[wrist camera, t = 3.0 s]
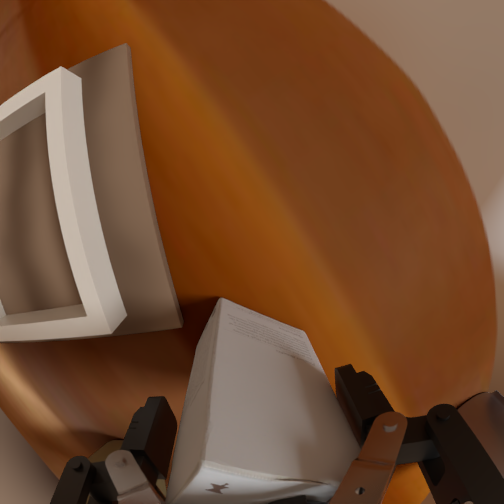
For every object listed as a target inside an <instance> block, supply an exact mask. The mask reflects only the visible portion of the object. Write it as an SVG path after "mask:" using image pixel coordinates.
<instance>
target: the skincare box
mask: <svg viewBox="0 0 504 504" xmlns="http://www.w3.org/2000/svg"><path fill="white" fill-rule="evenodd" d="M360 452H361V448H360V446H359V444H358V442H357V440H356V438H355V436H354V434H353V432H352V429H351V427H350V425H349V423H348V421H347V419H346V417H345V415H344V412H343V410H342V408H341V406H340V404H339V402H338V400H337V398H336V396H335V394H334V392H333V389H332V387H331V385H330V383H329V381H328V379H327V377H326V375H325V373H324V371H323V368H322V366H321V364H320V362H319V360H318V358H317V356H316V354H315V352H314V350H313V348H312V346H311V344H310V342H309V339H308V337H307V335H306V333H305V332H304V331H302V330H299V329H297V328H294V327H292V326H289V325H286V324H284V323H281V322H279V321H277V320H274V319H272V318H269V317H267V316H264V315H262V314H260V313H257V312H255V311H252V310H250V309H248V308H245V307H243V306H240V305H238V304H236V303H233V302H231V301H229V300H227V299H224V298H219V300H218V302H217V304H216V306H215V308H214V310H213V312H212V314H211V316H210V318H209V320H208V323H207V325H206V327H205V329H204V331H203V333H202V336H201V338H200V340H199V342H198V345H197V347H196V352H195V357H194V362H193V366H192V371H191V375H190V379H189V384H188V388H187V393H186V397H185V402H184V407H183V412H182V417H181V421H180V426H179V431H178V436H177V441H176V446H175V451H174V456H173V462H172V470H171V475H170V479H169V483H168V488H167V494H166V500H165V502H166V504H268V503H271V502H274V501H276V500H280V499H286V498H292V497H297V496H302V495H306V500H307V501H321V502H326V503H329V502H330V501H331V499H332V497H333V496H334V494H335V492H336V491H337V489H338V487H339V485H340V484H341V482H342V480H343V478H344V476H345V474H346V473H347V471H348V469H349V467H350V465H351V463H352V461H353V460H354V459H357V457H358V456H359V454H360Z"/></svg>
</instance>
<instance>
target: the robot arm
mask: <svg viewBox="0 0 504 504" xmlns="http://www.w3.org/2000/svg"><path fill="white" fill-rule="evenodd" d="M335 384H336V396H337V400H338V402H339V404H340V406H341V408H342V410H343V412H344V415H345V417H346V419H347V421H348V423H349V425H350V427H351V429H352V432H353V434H354V436H355V438H356V440H357V442H358V444H359V446H360V448H361V452H360V454H359V456H358V457H357V459H354V460H353V461H352V463H351V465H350V467H349V469H348V471H347V473H346V474H345V476H344V478H343V480H342V482H341V484H340V485H339V487H338V489H337V491H336V492H335V494H334V496H333V497H332V499H331V501H330V502H329V503H326V502H321V501H307V500H306V495H302V496H297V497H292V498H286V499H280V500H276V501H274V502H271V503H268V504H381V502H382V500H383V497H384V495H385V493H386V490H387V488H388V486H389V483H390V481H391V478H392V476H393V473H394V470H395V468H396V465H398V464H405V463H412V462H417V463H418V465H419V467H420V469H421V471H422V473H423V475H424V478H425V480H426V482H427V484H428V486H429V489H430V491H431V493H432V495H433V498H434V500H435V502H436V504H504V397H503V396H502V395H501V394H500V393H499V392H498V391H497V390H496V391H495V392H493V393H488V392H485V393H481V394H479V395H477V396H475V397H473V398H472V399H470V400H469V401H467V402H466V403H465V404H463V405H462V406H461V407H460V408H459V409H458V410H457V409H456V408H455V407H454V406H452V405H449V404H439V405H436V406H434V407H432V408H431V409H430V410H429V412H428V414H427V415H426V416H420V417H412V418H408V417H405V416H404V415H403V414H401V413H398V412H395V411H394V410H393V408H392V407H391V405H390V403H389V402H388V400H387V399H386V397H385V396H384V394H383V392H382V391H381V390H380V388H379V386H378V385H377V383H376V381H375V380H374V378H373V377H372V376H371V375H370V374H368V373H366V372H365V371H362V372H359V373H356V371H355V370H354V368H353V366H352V365H351V364H348V365H345V366H341V367H338V368H335ZM176 431H177V421H176V418H175V416H174V414H173V412H172V410H171V408H170V406H169V404H168V402H167V400H166V398H165V397H164V396H157V397H148V399H147V401H146V404H145V406H144V407H140V408H139V409H138V410H137V412H136V413H135V414H134V416H133V418H132V421H131V423H130V425H129V429H128V430H127V433H126V435H125V438H124V440H123V443H122V446H121V448H120V450H117V451H114V452H112V453H111V454H110V455H109V456H108V457H107V458H106V461H101V462H94V463H91V462H90V461H89V460H88V459H87V458H86V457H84V456H76V457H73V458H72V459H70V460H69V461H68V462H67V464H66V466H65V468H64V471H63V473H62V475H61V478H60V480H59V483H58V485H57V488H56V490H55V493H54V495H53V497H52V500H51V502H50V504H86V502H87V499H88V495H90V497H89V500H88V503H87V504H118V503H119V504H166V502H165V500H166V497H165V496H164V495H163V493H162V492H161V490H160V489H159V487H158V486H157V485H156V483H157V479H165V480H166V477H167V473H168V468H169V463H170V459H171V454H172V449H173V445H174V440H175V436H176Z"/></svg>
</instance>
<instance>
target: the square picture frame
mask: <svg viewBox="0 0 504 504" xmlns="http://www.w3.org/2000/svg"><path fill="white" fill-rule="evenodd" d="M44 113H46V130H47V143H48V154H49V162H50V170H51V178H52V184H53V190H54V196H55V202H56V207H57V212H58V217H59V222H60V226H61V231H62V235H63V239H64V243H65V247H66V251H67V255H68V258H69V262H70V265H71V269H72V272H73V276H74V279H75V282H76V285H77V288H78V291H79V294H80V297H81V300H82V303H83V304H79V305H72V306H66V307H59V308H53V309H46V310H39V311H33V312H26V313H19V314H11V315H6V314H5V311H4V308H3V305H2V303H1V300H0V341H25V340H44V339H59V338H73V337H84V336H95V335H105V334H112V333H113V332H114V330H115V329H116V328H117V327H118V326H119V325H120V323H121V322H122V321H123V320H124V319H125V317H126V316H127V313H126V311H125V308H124V305H123V302H122V299H121V296H120V293H119V289H118V286H117V283H116V280H115V276H114V273H113V270H112V266H111V263H110V259H109V255H108V252H107V248H106V244H105V240H104V236H103V232H102V228H101V223H100V219H99V214H98V210H97V205H96V200H95V195H94V189H93V184H92V178H91V172H90V166H89V159H88V152H87V144H86V136H85V126H84V116H83V102H82V82H81V78H80V77H78V76H77V75H75V74H73V73H72V72H70V71H68V70H67V69H65V68H63V67H62V66H61V67H59V68H57V69H56V70H54V71H52V72H50V73H49V74H47V75H45V76H44V77H42V78H40V79H39V80H37V81H35V82H34V83H32V84H31V85H29V86H28V87H26V88H25V89H23V90H22V91H20V92H19V93H17V94H16V95H14V96H13V97H11V98H10V99H9V100H7V101H6V102H5V103H3V104H2V105H1V106H0V141H1V140H2V139H4V138H5V137H7V136H8V135H10V134H11V133H13V132H14V131H16V130H17V129H19V128H20V127H22V126H24V125H25V124H27V123H28V122H30V121H32V120H33V119H35V118H37V117H39V116H40V115H42V114H44Z"/></svg>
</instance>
